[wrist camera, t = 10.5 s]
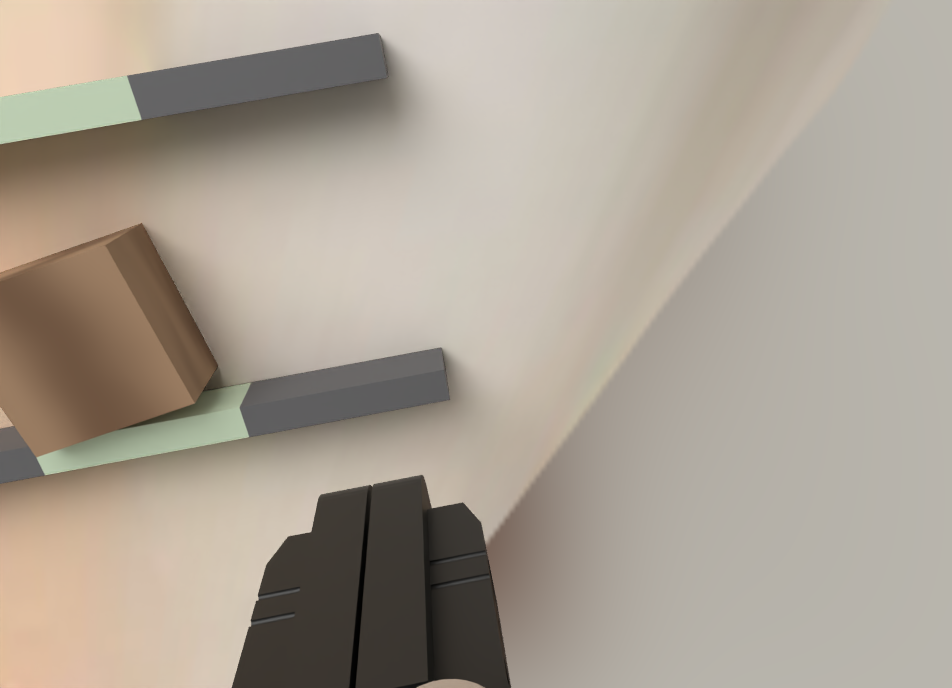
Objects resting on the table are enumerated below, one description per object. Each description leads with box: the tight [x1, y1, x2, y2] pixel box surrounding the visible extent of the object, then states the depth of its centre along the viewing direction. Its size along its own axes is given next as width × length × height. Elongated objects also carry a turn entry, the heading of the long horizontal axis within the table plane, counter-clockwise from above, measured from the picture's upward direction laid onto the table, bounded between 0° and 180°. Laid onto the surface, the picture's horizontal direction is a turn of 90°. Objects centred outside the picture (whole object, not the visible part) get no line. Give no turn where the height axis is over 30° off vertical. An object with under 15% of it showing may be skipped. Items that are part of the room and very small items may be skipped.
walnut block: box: [0, 223, 218, 457], centre depth 28 cm, size 7×7×4 cm
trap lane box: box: [0, 33, 450, 484], centre depth 28 cm, size 28×15×2 cm, turn 99°
